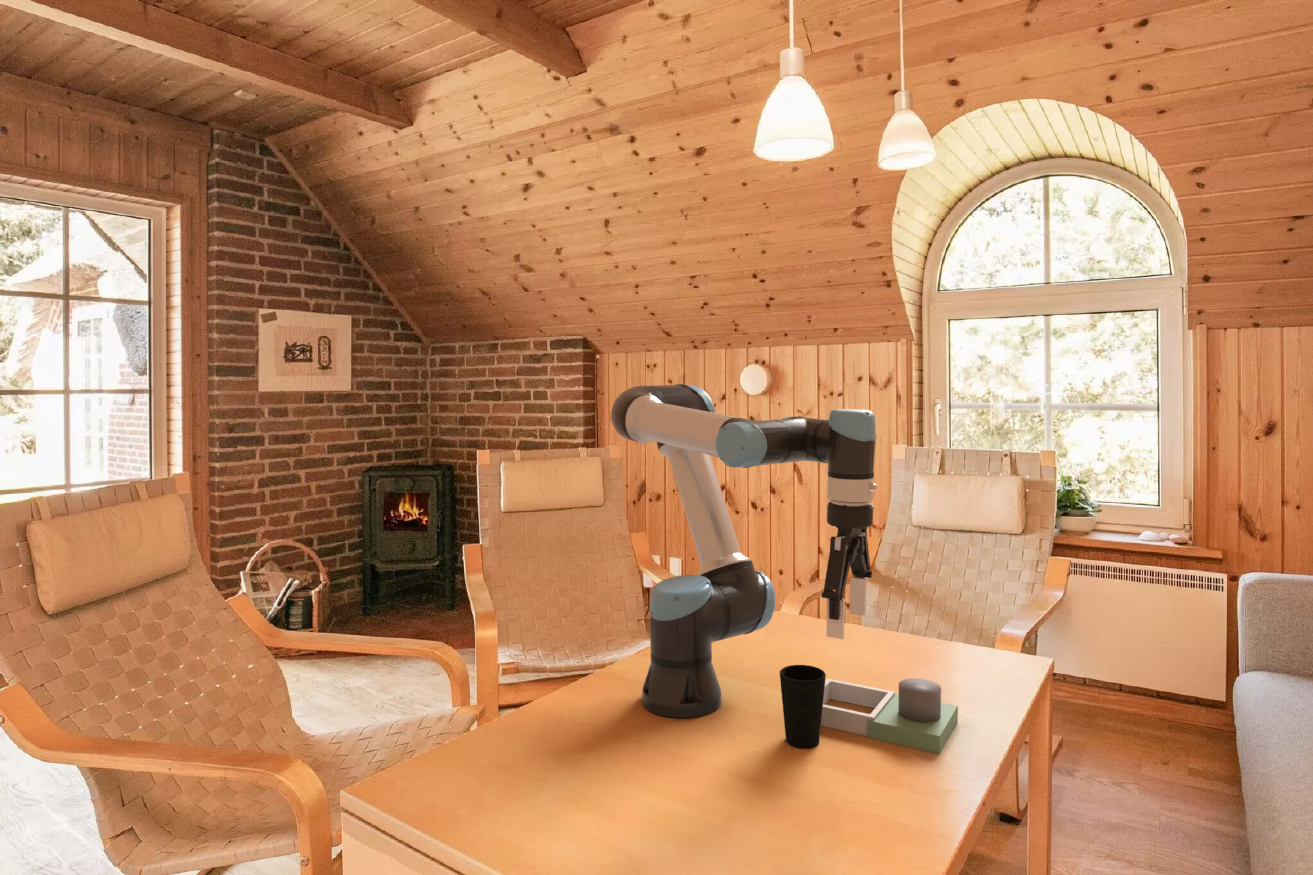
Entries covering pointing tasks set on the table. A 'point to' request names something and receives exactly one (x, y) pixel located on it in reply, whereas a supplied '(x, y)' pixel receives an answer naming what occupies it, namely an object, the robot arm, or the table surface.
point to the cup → (802, 704)
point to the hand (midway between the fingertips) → (846, 625)
